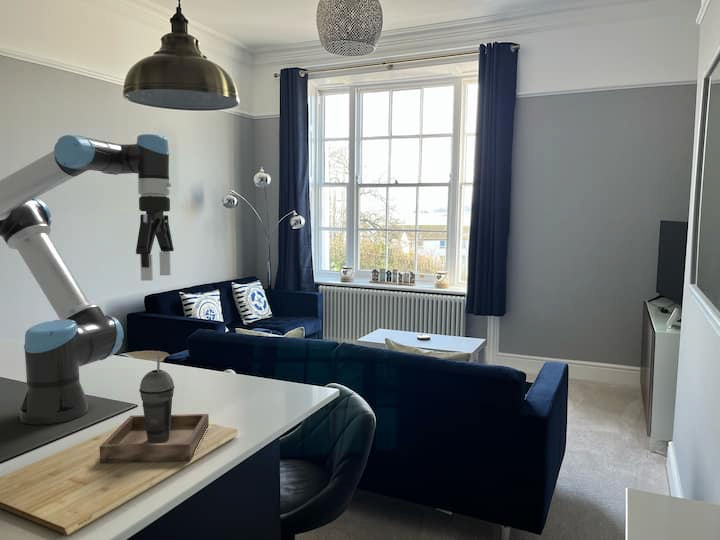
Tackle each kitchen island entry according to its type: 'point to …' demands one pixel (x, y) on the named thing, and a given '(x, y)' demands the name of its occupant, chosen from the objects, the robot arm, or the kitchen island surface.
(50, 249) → the robot arm
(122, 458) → the serving tray
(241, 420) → the kitchen island surface
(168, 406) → the beverage cup
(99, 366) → the kitchen island surface
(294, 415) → the kitchen island surface
